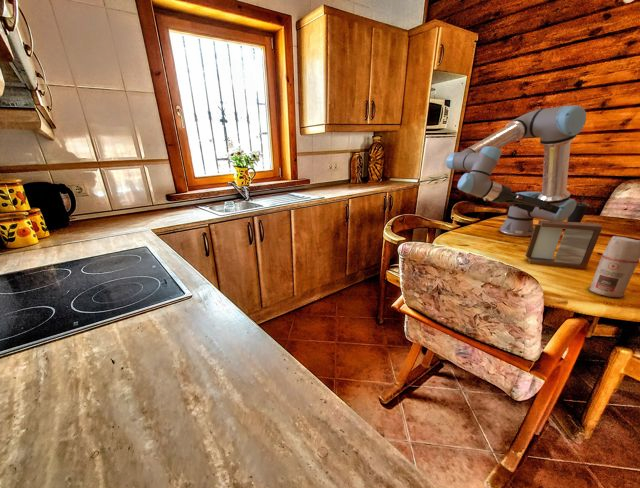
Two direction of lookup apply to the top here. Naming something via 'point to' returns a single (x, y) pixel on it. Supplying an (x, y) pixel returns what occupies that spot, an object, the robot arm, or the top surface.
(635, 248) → the spray can
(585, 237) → the showcase frame
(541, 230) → the door
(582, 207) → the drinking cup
